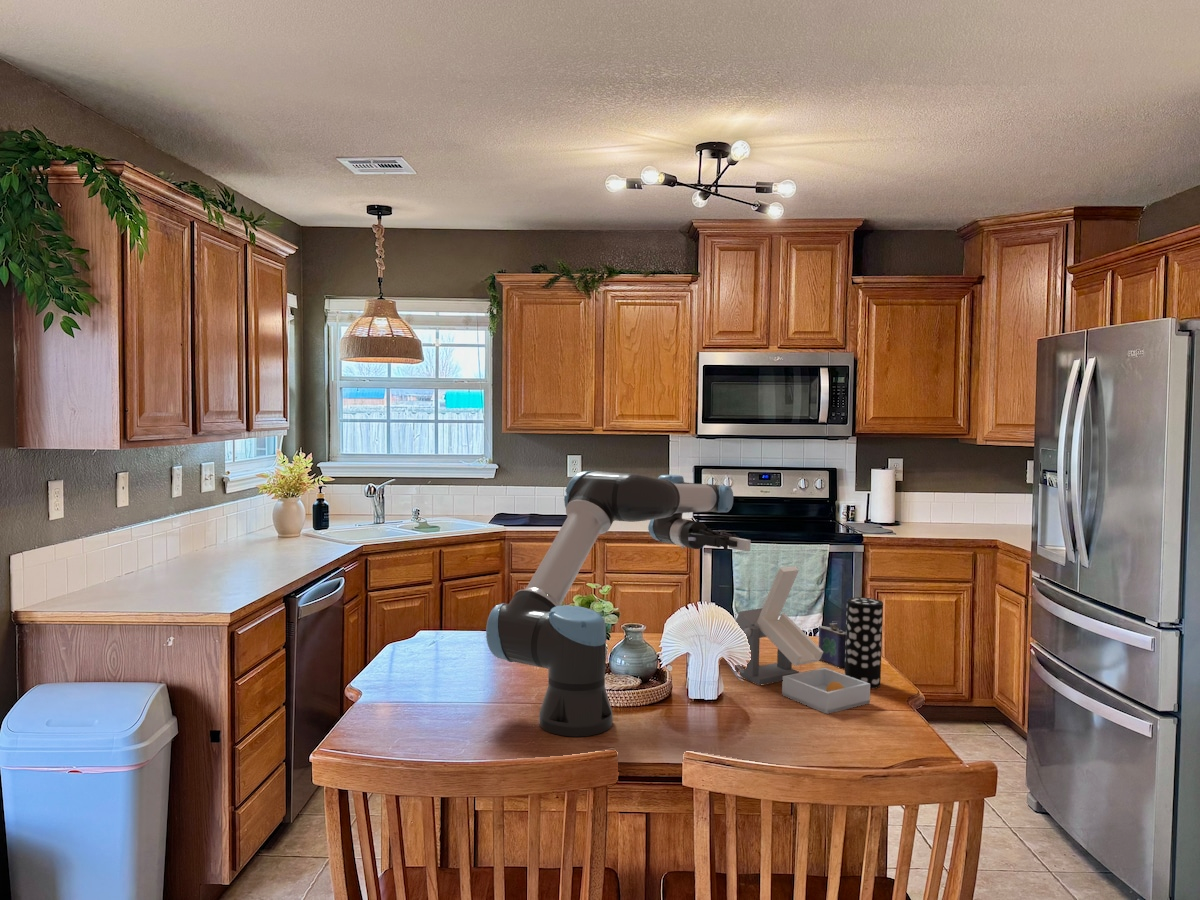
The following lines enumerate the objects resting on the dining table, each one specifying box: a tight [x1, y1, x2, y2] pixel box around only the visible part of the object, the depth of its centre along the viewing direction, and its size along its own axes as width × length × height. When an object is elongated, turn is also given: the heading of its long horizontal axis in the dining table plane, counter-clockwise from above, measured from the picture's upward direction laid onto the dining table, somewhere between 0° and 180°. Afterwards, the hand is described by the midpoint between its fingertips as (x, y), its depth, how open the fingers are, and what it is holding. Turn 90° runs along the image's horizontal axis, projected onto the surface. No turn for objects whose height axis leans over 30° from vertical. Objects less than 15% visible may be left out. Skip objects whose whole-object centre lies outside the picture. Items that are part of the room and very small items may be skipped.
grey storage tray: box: [781, 667, 871, 715], centre depth 191 cm, size 14×14×4 cm
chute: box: [735, 565, 823, 667], centre depth 202 cm, size 21×8×22 cm, turn 32°
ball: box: [826, 682, 844, 692], centre depth 189 cm, size 4×4×4 cm
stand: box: [738, 625, 800, 686], centre depth 207 cm, size 8×15×13 cm, turn 122°
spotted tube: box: [844, 596, 884, 689], centre depth 203 cm, size 8×8×20 cm
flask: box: [818, 622, 846, 669], centre depth 219 cm, size 9×3×11 cm, turn 28°
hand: (748, 545), depth 213 cm, fingers closed
